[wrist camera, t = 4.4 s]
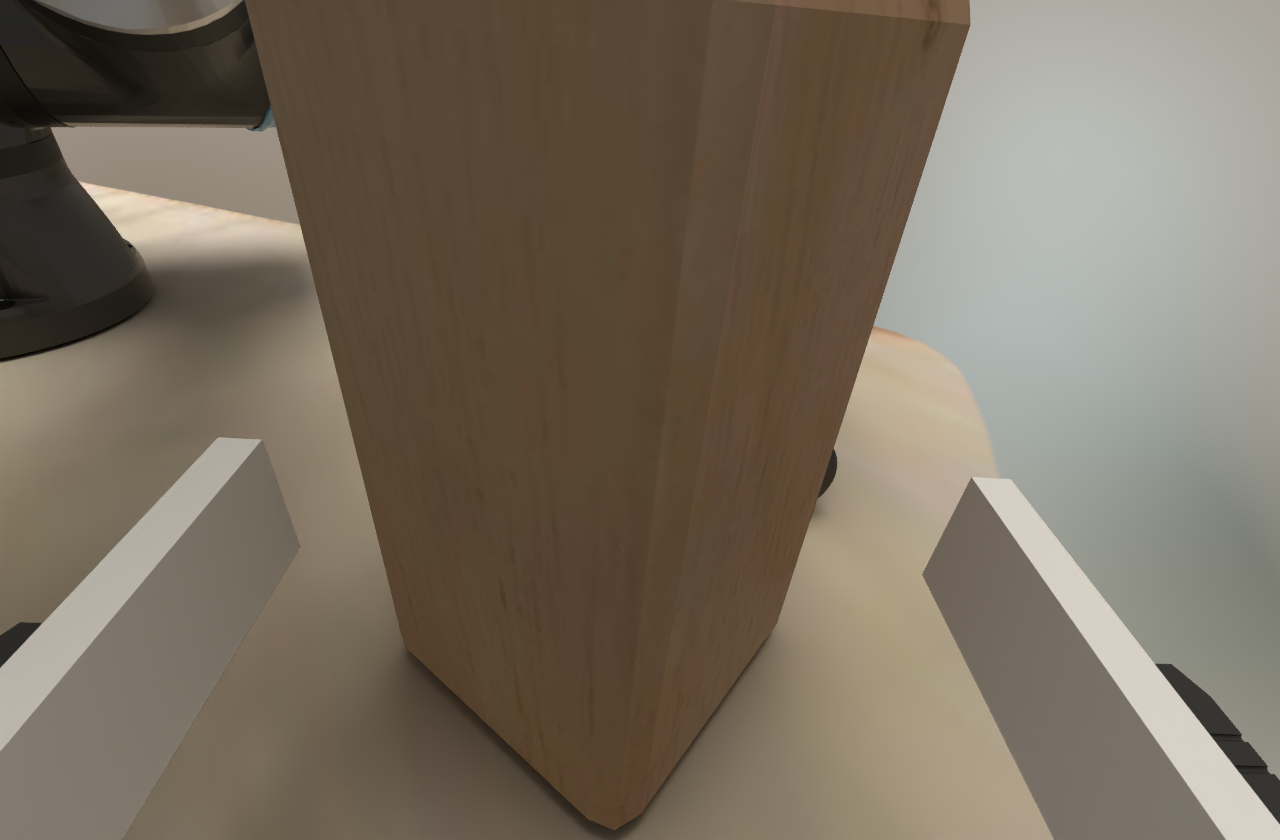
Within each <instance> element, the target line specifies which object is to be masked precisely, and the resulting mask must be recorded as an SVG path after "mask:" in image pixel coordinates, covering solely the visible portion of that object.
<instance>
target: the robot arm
mask: <svg viewBox="0 0 1280 840" xmlns="http://www.w3.org/2000/svg"><path fill="white" fill-rule="evenodd" d="M76 126H77V127H214V128H218V127H219V128H220V127H221V128H228V127H229V128H247V129H248V130H251V131H263V130H266V129H267V128H269V127H276V124H275V120H274V116H273V112H272V108H271V104H270V100H269V96H268V92H267V88H266V84H265V80H264V76H263V72H262V68H261V64H260V60H259V56H258V52H257V48H256V44H255V39H254V35H253V31H252V27H251V23H250V19H249V15H248V11H247V7H246V3H245V0H0V358H5V357H10V356H15V355H20V354H24V353H29V352H33V351H37V350H41V349H45V348H49V347H53V346H56V345H60V344H63V343H66V342H70V341H73V340H76V339H79V338H82V337H84V336H87V335H90V334H93V333H95V332H98V331H100V330H102V329H105V328H107V327H109V326H111V325H114V324H116V323H118V322H120V321H122V320H123V319H125V318H127V317H129V316H130V315H132V314H133V313H135V312H136V311H138V310H139V309H140V308H142V307H143V306H144V305H145V304H146V303H147V302H148V301H149V300H150V298H151V297H152V295H153V292H154V285H153V283H152V280H151V278H150V275H149V273H148V270H147V268H146V266H145V263H144V261H143V258H142V257H141V255H140V253H139V252H138V251H137V249H136V248H135V247H134V246H133V245H132V244H131V243H130V242H128V241H127V240H125V239H123V238H122V237H121V235H120V234H119V232H118V231H117V230H116V228H115V227H114V226H113V224H112V223H111V222H110V220H109V219H108V218H107V216H106V215H105V214H104V213H103V211H102V210H101V209H100V208H99V206H98V205H97V204H96V203H95V201H94V200H93V199H92V198H91V196H90V195H89V194H88V193H87V192H86V190H85V189H84V188H83V187H82V186H81V184H80V183H79V182H78V181H77V179H76V178H75V177H74V175H73V174H72V173H71V171H70V169H69V168H68V166H67V164H66V162H65V160H64V158H63V156H62V153H61V151H60V149H59V146H58V144H57V142H56V140H55V137H54V135H53V133H52V130H51V127H76ZM299 548H300V545H299V542H298V539H297V536H296V534H295V531H294V528H293V525H292V522H291V519H290V517H289V514H288V511H287V508H286V505H285V503H284V500H283V497H282V494H281V491H280V489H279V486H278V483H277V480H276V477H275V474H274V472H273V469H272V466H271V463H270V460H269V458H268V455H267V452H266V449H265V446H264V443H263V441H262V440H261V439H242V438H223V437H218V438H217V439H216V440H215V441H214V442H213V443H212V444H211V445H210V446H209V447H208V448H207V450H206V451H205V452H204V453H203V454H202V455H201V456H200V457H199V458H198V459H197V460H196V461H195V462H194V463H193V464H192V465H191V467H190V468H189V469H188V470H187V471H186V472H185V473H184V474H183V475H182V476H181V477H180V478H179V479H178V480H177V481H176V482H175V483H174V485H173V486H172V487H171V488H170V489H169V490H168V491H167V492H166V493H165V494H164V495H163V496H162V497H161V498H160V499H159V500H158V501H157V503H156V504H155V505H154V506H153V507H152V508H151V509H150V510H149V511H148V512H147V513H146V514H145V515H144V516H143V517H142V518H141V519H140V521H139V522H138V523H137V524H136V525H135V526H134V527H133V528H132V529H131V530H130V531H129V532H128V533H127V534H126V535H125V536H124V538H123V539H122V540H121V541H120V542H119V543H118V544H117V545H116V546H115V547H114V548H113V549H112V550H111V551H110V552H109V553H108V554H107V556H106V557H105V558H104V559H103V560H102V561H101V562H100V563H99V564H98V565H97V566H96V567H95V568H94V569H93V570H92V571H91V572H90V574H89V575H88V576H87V577H86V578H85V579H84V580H83V581H82V582H81V583H80V584H79V585H78V586H77V587H76V588H75V589H74V590H73V592H72V593H71V594H70V595H69V596H68V597H67V598H66V599H65V600H64V601H63V602H62V603H61V604H60V605H59V606H58V607H57V609H56V610H55V611H54V612H53V613H52V614H51V615H50V616H49V617H48V618H47V619H46V620H45V621H44V622H43V623H26V622H20V623H19V624H17V625H16V626H14V627H13V628H11V629H10V630H8V631H7V632H5V633H4V634H2V635H1V636H0V840H122V839H123V838H124V836H125V834H126V833H127V831H128V829H129V828H130V826H131V824H132V823H133V821H134V820H135V818H136V816H137V815H138V813H139V811H140V810H141V808H142V806H143V805H144V803H145V801H146V800H147V798H148V796H149V795H150V793H151V792H152V790H153V788H154V787H155V785H156V783H157V782H158V780H159V778H160V777H161V775H162V773H163V772H164V770H165V768H166V767H167V765H168V764H169V762H170V760H171V759H172V757H173V755H174V754H175V752H176V750H177V749H178V747H179V745H180V744H181V742H182V740H183V739H184V737H185V736H186V734H187V732H188V731H189V729H190V727H191V726H192V724H193V722H194V721H195V719H196V717H197V716H198V714H199V712H200V711H201V709H202V708H203V706H204V704H205V703H206V701H207V699H208V698H209V696H210V694H211V693H212V691H213V689H214V688H215V686H216V684H217V683H218V681H219V680H220V678H221V676H222V675H223V673H224V671H225V670H226V668H227V666H228V665H229V663H230V661H231V660H232V658H233V656H234V655H235V653H236V651H237V650H238V648H239V647H240V645H241V643H242V642H243V640H244V638H245V637H246V635H247V633H248V632H249V630H250V628H251V627H252V625H253V623H254V622H255V620H256V619H257V617H258V615H259V614H260V612H261V610H262V609H263V607H264V605H265V604H266V602H267V600H268V599H269V597H270V595H271V594H272V592H273V591H274V589H275V587H276V586H277V584H278V582H279V581H280V579H281V577H282V576H283V574H284V572H285V571H286V569H287V567H288V566H289V564H290V563H291V561H292V559H293V558H294V556H295V554H296V553H297V551H298V549H299ZM922 575H923V577H924V579H925V581H926V583H927V585H928V587H929V589H930V591H931V593H932V595H933V597H934V599H935V601H936V603H937V605H938V607H939V609H940V611H941V613H942V615H943V617H944V619H945V621H946V623H947V625H948V627H949V629H950V631H951V633H952V635H953V637H954V639H955V641H956V643H957V645H958V647H959V649H960V651H961V653H962V655H963V657H964V659H965V661H966V663H967V665H968V667H969V669H970V671H971V673H972V675H973V677H974V679H975V681H976V683H977V685H978V687H979V689H980V691H981V694H982V696H983V698H984V700H985V702H986V704H987V706H988V708H989V710H990V712H991V714H992V716H993V718H994V720H995V722H996V724H997V726H998V728H999V730H1000V732H1001V734H1002V736H1003V738H1004V740H1005V742H1006V744H1007V746H1008V748H1009V750H1010V752H1011V754H1012V756H1013V758H1014V760H1015V762H1016V764H1017V766H1018V768H1019V770H1020V772H1021V774H1022V776H1023V778H1024V780H1025V782H1026V784H1027V786H1028V788H1029V790H1030V792H1031V794H1032V796H1033V798H1034V800H1035V802H1036V804H1037V806H1038V808H1039V810H1040V812H1041V814H1042V816H1043V818H1044V820H1045V822H1046V824H1047V826H1048V828H1049V830H1050V832H1051V834H1052V836H1053V838H1054V840H1280V780H1279V779H1278V778H1277V777H1276V775H1275V774H1270V773H1269V772H1268V770H1267V767H1268V766H1267V765H1266V763H1265V762H1264V761H1263V760H1262V759H1261V757H1260V756H1259V755H1258V754H1257V752H1256V751H1255V750H1254V749H1253V748H1252V746H1251V745H1250V744H1249V743H1248V742H1244V741H1243V740H1242V738H1241V735H1242V734H1241V733H1240V732H1239V731H1238V729H1237V728H1236V727H1235V726H1234V725H1233V723H1232V722H1231V721H1230V720H1229V718H1228V717H1227V716H1226V715H1225V714H1224V712H1223V711H1222V710H1221V709H1220V707H1219V706H1218V705H1217V704H1216V703H1215V701H1214V700H1213V699H1212V698H1211V697H1210V696H1209V695H1208V694H1207V693H1206V692H1204V691H1203V690H1202V689H1201V688H1199V687H1198V686H1197V685H1196V684H1195V683H1193V682H1192V681H1191V680H1190V679H1188V678H1187V677H1186V676H1185V675H1184V674H1183V673H1181V672H1180V671H1179V670H1178V669H1177V668H1175V667H1174V666H1173V665H1172V664H1154V663H1153V661H1152V660H1151V659H1150V658H1149V656H1148V655H1147V654H1146V652H1145V651H1144V650H1143V648H1142V647H1141V646H1140V645H1139V643H1138V642H1137V641H1136V640H1135V638H1134V637H1133V636H1132V634H1131V633H1130V632H1129V631H1128V629H1127V628H1126V627H1125V626H1124V624H1123V623H1122V622H1121V620H1120V619H1119V618H1118V617H1117V615H1116V614H1115V613H1114V611H1113V610H1112V609H1111V607H1110V606H1109V605H1108V604H1107V602H1106V601H1105V600H1104V598H1103V597H1102V596H1101V595H1100V593H1099V592H1098V591H1097V589H1096V588H1095V587H1094V586H1093V584H1092V583H1091V582H1090V581H1089V579H1088V578H1087V577H1086V575H1085V574H1084V573H1083V572H1082V570H1081V569H1080V568H1079V566H1078V565H1077V564H1076V563H1075V561H1074V560H1073V559H1072V557H1071V556H1070V555H1069V554H1068V552H1067V551H1066V550H1065V548H1064V547H1063V546H1062V545H1061V543H1060V542H1059V541H1058V539H1057V538H1056V537H1055V536H1054V535H1053V533H1052V532H1051V530H1050V529H1049V528H1048V527H1047V525H1046V524H1045V523H1044V521H1043V520H1042V519H1041V518H1040V516H1039V515H1038V514H1037V512H1036V511H1035V510H1034V509H1033V508H1032V506H1031V505H1030V504H1029V502H1028V501H1027V500H1026V498H1025V497H1024V496H1023V494H1022V493H1021V492H1020V491H1019V490H1018V488H1017V487H1016V486H1015V484H1014V483H1013V482H1012V480H1011V479H997V478H978V477H971V479H970V481H969V483H968V485H967V487H966V489H965V491H964V493H963V495H962V497H961V499H960V501H959V503H958V505H957V507H956V509H955V511H954V513H953V515H952V517H951V519H950V521H949V523H948V525H947V527H946V529H945V531H944V533H943V535H942V536H941V538H940V540H939V542H938V544H937V546H936V548H935V550H934V552H933V554H932V556H931V558H930V560H929V562H928V564H927V566H926V568H925V570H924V572H923V574H922Z"/></svg>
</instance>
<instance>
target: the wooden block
mask: <svg viewBox="0 0 1280 840" xmlns="http://www.w3.org/2000/svg"><path fill="white" fill-rule="evenodd" d="M245 3H246V7H247V11H248V15H249V19H250V23H251V27H252V31H253V35H254V39H255V44H256V48H257V52H258V56H259V60H260V64H261V68H262V72H263V76H264V80H265V84H266V88H267V92H268V96H269V100H270V104H271V108H272V112H273V116H274V120H275V124H276V128H277V133H278V137H279V141H280V144H281V148H282V153H283V157H284V161H285V165H286V169H287V173H288V177H289V181H290V185H291V189H292V193H293V197H294V201H295V205H296V209H297V213H298V217H299V221H300V226H301V230H302V234H303V238H304V242H305V246H306V250H307V254H308V258H309V262H310V266H311V270H312V274H313V278H314V282H315V286H316V290H317V294H318V298H319V302H320V306H321V310H322V315H323V319H324V323H325V327H326V331H327V335H328V339H329V343H330V347H331V351H332V355H333V359H334V363H335V367H336V371H337V375H338V379H339V383H340V387H341V391H342V395H343V399H344V404H345V408H346V412H347V416H348V420H349V424H350V428H351V432H352V436H353V440H354V444H355V448H356V452H357V456H358V460H359V464H360V468H361V472H362V476H363V480H364V484H365V488H366V493H367V497H368V501H369V505H370V509H371V513H372V517H373V521H374V525H375V529H376V533H377V537H378V541H379V545H380V549H381V553H382V557H383V561H384V565H385V569H386V573H387V577H388V582H389V586H390V590H391V594H392V598H393V602H394V606H395V610H396V614H397V618H398V622H399V626H400V630H401V633H402V637H403V640H404V644H405V647H406V648H407V649H408V650H409V651H410V652H411V653H412V654H413V655H414V656H415V657H416V658H417V659H419V660H420V661H421V662H422V663H423V664H424V665H425V666H426V667H427V668H428V669H429V670H430V671H431V672H432V673H433V674H434V675H435V676H437V677H438V678H439V679H440V680H441V681H442V682H443V683H444V684H445V685H446V686H447V687H448V688H449V689H450V690H451V691H452V692H453V693H455V694H456V695H457V696H458V697H459V698H460V699H461V700H462V701H463V702H464V703H465V704H466V705H467V706H468V707H469V708H470V709H471V710H473V711H474V712H475V713H476V714H477V715H478V716H479V717H480V718H481V719H482V720H483V721H484V722H485V723H486V724H487V725H488V726H489V727H491V728H492V729H493V730H494V731H495V732H496V733H497V734H498V735H499V736H500V737H501V738H502V739H503V740H504V741H505V742H506V743H508V744H509V745H510V746H511V747H512V748H513V749H514V750H515V751H516V752H517V753H518V754H519V755H520V756H521V757H522V758H523V759H524V760H526V761H527V762H528V763H529V764H530V765H531V766H532V767H533V768H534V769H535V770H536V771H537V772H538V773H539V774H540V775H541V776H542V777H544V778H545V779H546V780H547V781H548V782H549V783H550V784H551V785H552V786H553V787H554V788H555V789H556V790H557V791H558V792H559V793H560V794H562V795H563V796H564V797H565V798H566V799H567V800H568V801H569V802H570V803H571V804H572V805H573V806H574V807H575V808H576V809H577V810H579V811H580V812H581V813H582V814H583V815H584V816H585V817H586V818H587V819H588V820H590V821H593V822H596V823H598V824H600V825H603V826H605V827H607V828H609V829H611V830H613V831H615V830H616V829H617V828H619V827H621V826H622V825H624V824H626V823H627V822H629V821H631V820H632V819H634V818H636V817H637V816H639V815H640V814H642V812H643V811H644V809H645V808H646V807H647V805H648V804H649V802H650V801H651V799H652V798H653V797H654V795H655V794H656V792H657V791H658V790H659V788H660V787H661V785H662V784H663V783H664V781H665V780H666V778H667V777H668V776H669V774H670V773H671V771H672V770H673V769H674V767H675V766H676V764H677V763H678V762H679V760H680V759H681V757H682V756H683V754H684V753H685V752H686V750H687V749H688V747H689V746H690V745H691V743H692V742H693V740H694V739H695V738H696V736H697V735H698V733H699V732H700V731H701V729H702V728H703V726H704V725H705V724H706V722H707V721H708V719H709V718H710V716H711V715H712V714H713V712H714V711H715V709H716V708H717V707H718V705H719V704H720V702H721V701H722V700H723V698H724V697H725V695H726V694H727V693H728V691H729V690H730V688H731V687H732V686H733V684H734V683H735V681H736V680H737V679H738V677H739V676H740V674H741V673H742V671H743V670H744V669H745V667H746V666H747V664H748V663H749V662H750V660H751V659H752V657H753V656H754V655H755V653H756V652H757V650H758V649H759V648H760V646H761V645H762V643H763V642H764V641H765V639H766V638H767V636H768V635H769V633H770V632H771V631H772V629H773V628H774V626H775V625H776V624H777V621H778V618H779V615H780V612H781V609H782V606H783V603H784V600H785V597H786V593H787V590H788V587H789V584H790V581H791V578H792V575H793V572H794V569H795V566H796V563H797V559H798V556H799V553H800V550H801V547H802V544H803V541H804V538H805V535H806V532H807V528H808V525H809V522H810V519H811V516H812V513H813V510H814V507H815V504H816V501H817V498H818V494H819V491H820V488H821V485H822V482H823V479H824V476H825V473H826V470H827V467H828V464H829V460H830V457H831V454H832V451H833V448H834V445H835V442H836V439H837V436H838V433H839V429H840V426H841V423H842V420H843V417H844V414H845V411H846V408H847V405H848V402H849V399H850V395H851V392H852V389H853V386H854V383H855V380H856V377H857V374H858V371H859V368H860V365H861V361H862V358H863V355H864V352H865V349H866V346H867V343H868V340H869V337H870V334H871V330H872V327H873V324H874V321H875V318H876V315H877V312H878V308H879V306H880V303H881V299H882V296H883V293H884V290H885V287H886V284H887V281H888V278H889V275H890V272H891V269H892V265H893V262H894V259H895V256H896V253H897V250H898V247H899V244H900V241H901V238H902V235H903V231H904V228H905V225H906V222H907V219H908V216H909V213H910V210H911V207H912V204H913V201H914V197H915V194H916V191H917V188H918V185H919V182H920V179H921V176H922V172H923V170H924V167H925V163H926V160H927V157H928V154H929V151H930V148H931V145H932V142H933V139H934V136H935V132H936V129H937V126H938V123H939V120H940V117H941V114H942V111H943V108H944V105H945V101H946V98H947V95H948V92H949V89H950V86H951V83H952V80H953V77H954V74H955V71H956V68H957V64H958V61H959V58H960V55H961V52H962V49H963V46H964V43H965V40H966V37H967V33H968V30H969V27H970V5H969V0H245Z"/></svg>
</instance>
